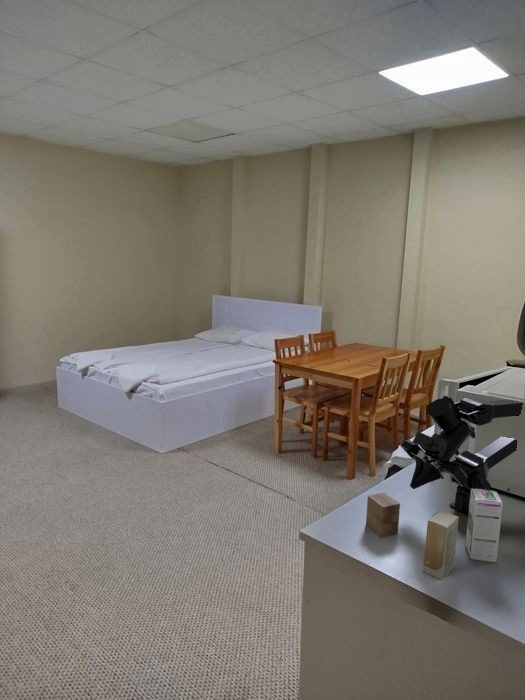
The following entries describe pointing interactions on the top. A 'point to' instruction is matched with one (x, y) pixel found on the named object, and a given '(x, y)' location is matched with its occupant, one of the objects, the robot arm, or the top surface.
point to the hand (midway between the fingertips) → (411, 487)
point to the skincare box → (440, 544)
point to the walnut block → (382, 514)
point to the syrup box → (483, 525)
